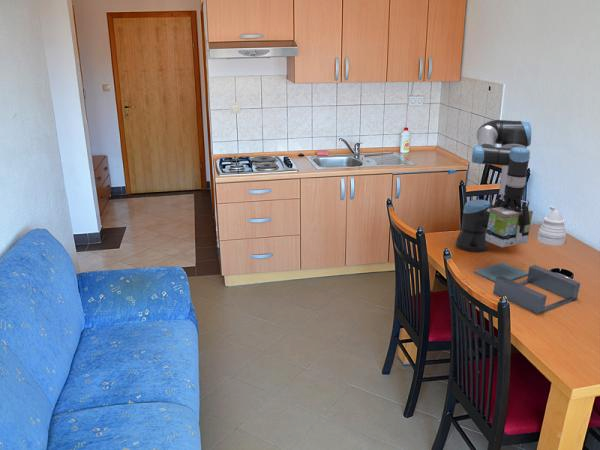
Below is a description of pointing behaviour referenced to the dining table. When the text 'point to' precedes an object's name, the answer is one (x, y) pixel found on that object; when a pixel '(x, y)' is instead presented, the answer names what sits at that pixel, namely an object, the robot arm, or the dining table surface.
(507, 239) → the tea box
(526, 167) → the robot arm
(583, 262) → the dining table surface
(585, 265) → the dining table surface
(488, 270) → the mat
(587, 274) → the dining table surface
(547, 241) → the honey pot
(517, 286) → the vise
